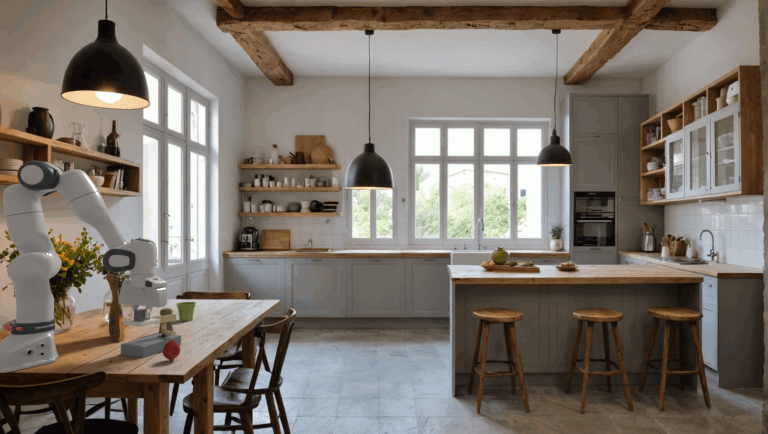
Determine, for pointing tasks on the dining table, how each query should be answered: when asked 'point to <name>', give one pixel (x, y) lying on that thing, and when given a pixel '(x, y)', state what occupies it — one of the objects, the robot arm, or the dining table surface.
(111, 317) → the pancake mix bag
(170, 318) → the t key
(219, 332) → the dining table surface
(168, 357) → the onion
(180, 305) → the plant pot
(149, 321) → the cover
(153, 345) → the case
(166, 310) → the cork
